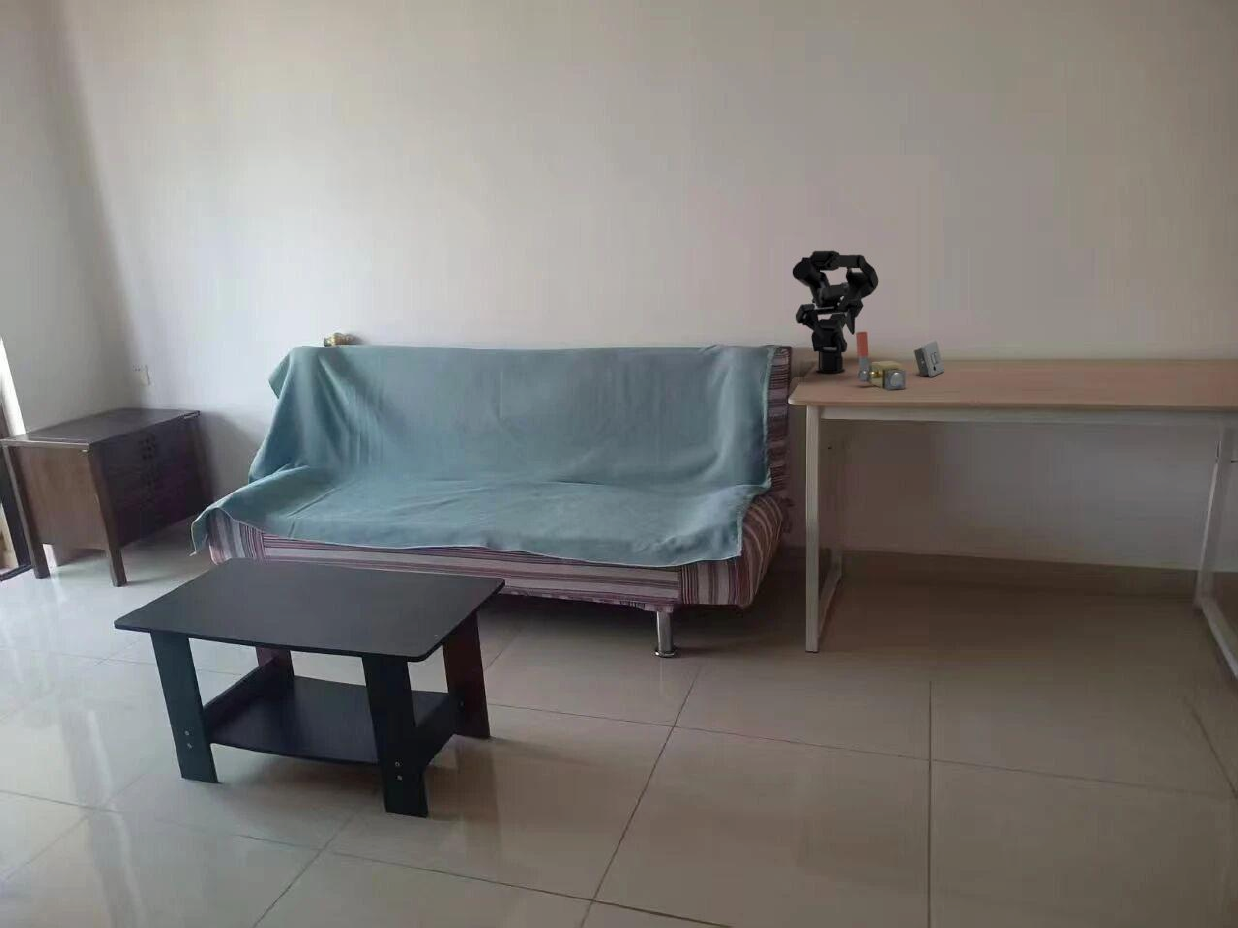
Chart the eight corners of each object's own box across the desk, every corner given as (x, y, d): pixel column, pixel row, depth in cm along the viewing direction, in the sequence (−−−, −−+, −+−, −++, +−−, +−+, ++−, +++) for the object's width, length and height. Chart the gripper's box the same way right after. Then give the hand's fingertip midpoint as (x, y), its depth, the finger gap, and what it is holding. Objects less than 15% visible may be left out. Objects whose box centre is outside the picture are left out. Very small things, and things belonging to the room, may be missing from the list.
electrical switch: (932, 378, 269) (930, 345, 267) (914, 378, 273) (912, 346, 271) (944, 372, 276) (942, 340, 274) (927, 373, 280) (925, 341, 278)
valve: (857, 381, 270) (858, 360, 268) (884, 379, 271) (885, 358, 269) (879, 391, 255) (880, 369, 254) (908, 388, 256) (908, 366, 255)
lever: (858, 381, 263) (855, 332, 262) (865, 381, 263) (863, 332, 262) (862, 381, 260) (859, 331, 259) (870, 381, 260) (867, 331, 259)
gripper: (800, 275, 265) (817, 321, 258) (861, 270, 269) (879, 315, 262) (788, 300, 275) (804, 345, 268) (847, 295, 279) (864, 338, 272)
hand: (838, 335), depth 267 cm, fingers open, 9 cm apart
